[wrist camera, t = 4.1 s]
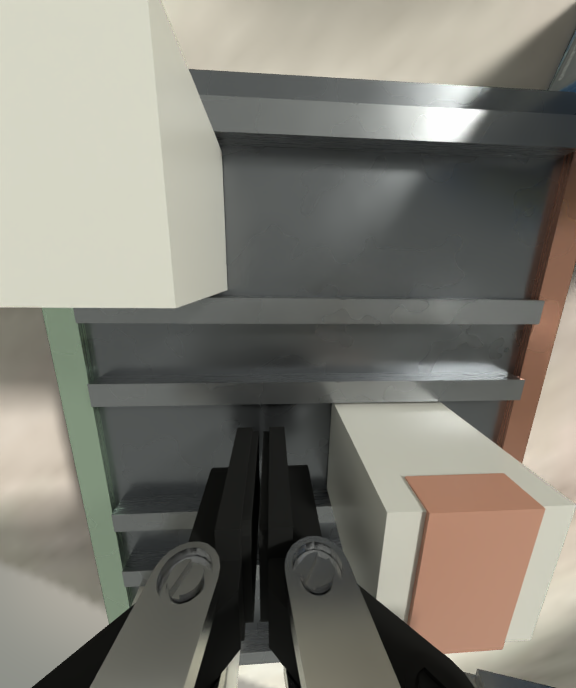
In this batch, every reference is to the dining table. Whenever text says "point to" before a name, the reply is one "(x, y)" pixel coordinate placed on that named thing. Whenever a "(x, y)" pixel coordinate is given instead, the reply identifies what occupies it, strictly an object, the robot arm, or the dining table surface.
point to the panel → (327, 298)
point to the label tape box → (566, 70)
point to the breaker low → (104, 161)
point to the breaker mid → (443, 523)
